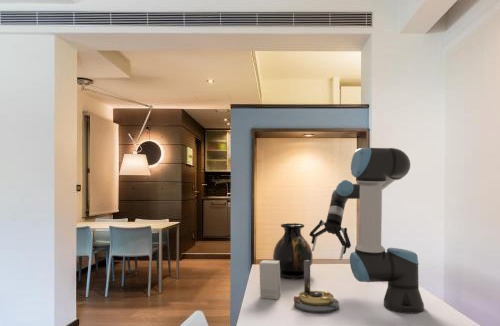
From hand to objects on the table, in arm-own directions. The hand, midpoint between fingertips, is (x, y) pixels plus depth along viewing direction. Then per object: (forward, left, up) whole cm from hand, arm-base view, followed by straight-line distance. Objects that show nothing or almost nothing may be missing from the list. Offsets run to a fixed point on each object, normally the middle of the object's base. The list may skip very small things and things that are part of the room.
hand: (326, 254), depth 177 cm
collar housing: (-15, +21, -16) cm, 30 cm away
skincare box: (+5, +30, -17) cm, 34 cm away
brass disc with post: (-15, +21, -14) cm, 29 cm away
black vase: (+29, -2, -17) cm, 33 cm away
